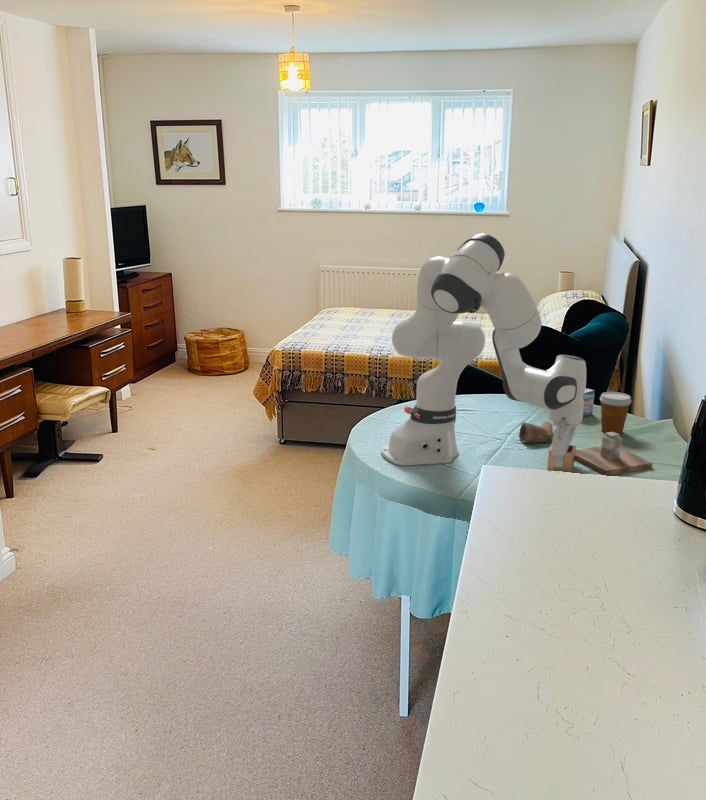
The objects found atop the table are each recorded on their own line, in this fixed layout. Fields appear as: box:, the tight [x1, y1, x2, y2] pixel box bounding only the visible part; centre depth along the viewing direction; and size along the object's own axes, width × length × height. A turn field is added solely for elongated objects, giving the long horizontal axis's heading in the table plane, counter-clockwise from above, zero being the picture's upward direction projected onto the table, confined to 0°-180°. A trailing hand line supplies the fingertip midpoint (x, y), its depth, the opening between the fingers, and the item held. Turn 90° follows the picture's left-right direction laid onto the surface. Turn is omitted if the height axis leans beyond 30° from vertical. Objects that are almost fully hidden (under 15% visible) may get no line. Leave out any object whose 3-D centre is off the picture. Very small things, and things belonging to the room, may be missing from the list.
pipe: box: [518, 421, 553, 444], centre depth 229 cm, size 6×17×10 cm
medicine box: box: [583, 388, 595, 418], centre depth 251 cm, size 8×4×9 cm, turn 129°
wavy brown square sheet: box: [575, 432, 653, 476], centre depth 209 cm, size 16×16×8 cm
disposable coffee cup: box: [599, 391, 632, 435], centre depth 234 cm, size 10×10×12 cm
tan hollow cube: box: [546, 443, 577, 473], centre depth 204 cm, size 6×6×6 cm
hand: (561, 461), depth 204 cm, fingers closed on tan hollow cube, 6 cm apart
